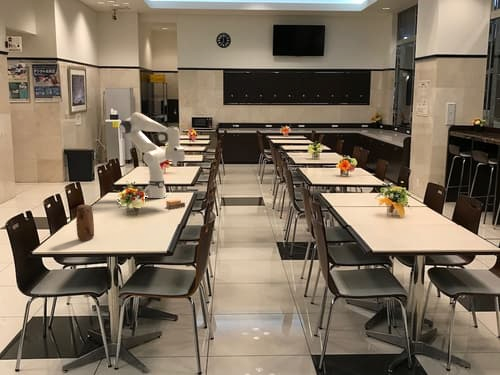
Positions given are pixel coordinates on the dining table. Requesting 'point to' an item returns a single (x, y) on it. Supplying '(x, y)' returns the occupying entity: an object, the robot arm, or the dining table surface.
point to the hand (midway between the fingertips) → (174, 166)
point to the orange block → (172, 202)
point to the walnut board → (177, 205)
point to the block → (85, 222)
